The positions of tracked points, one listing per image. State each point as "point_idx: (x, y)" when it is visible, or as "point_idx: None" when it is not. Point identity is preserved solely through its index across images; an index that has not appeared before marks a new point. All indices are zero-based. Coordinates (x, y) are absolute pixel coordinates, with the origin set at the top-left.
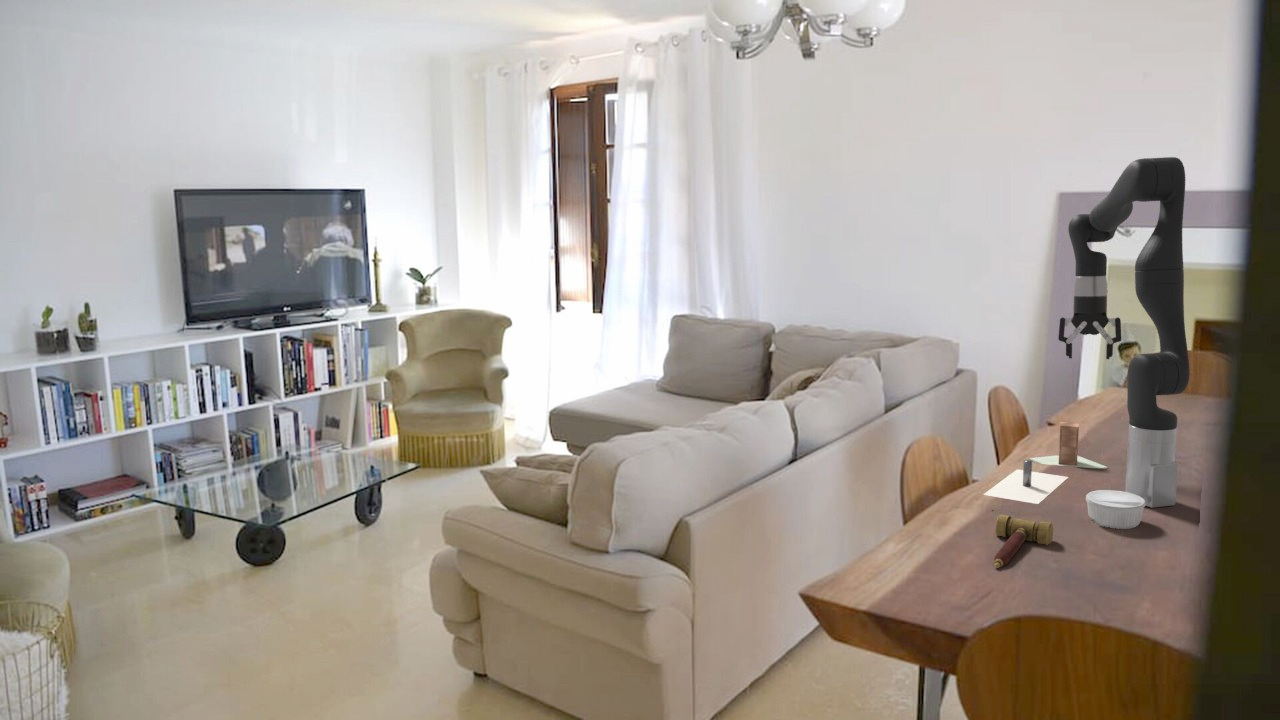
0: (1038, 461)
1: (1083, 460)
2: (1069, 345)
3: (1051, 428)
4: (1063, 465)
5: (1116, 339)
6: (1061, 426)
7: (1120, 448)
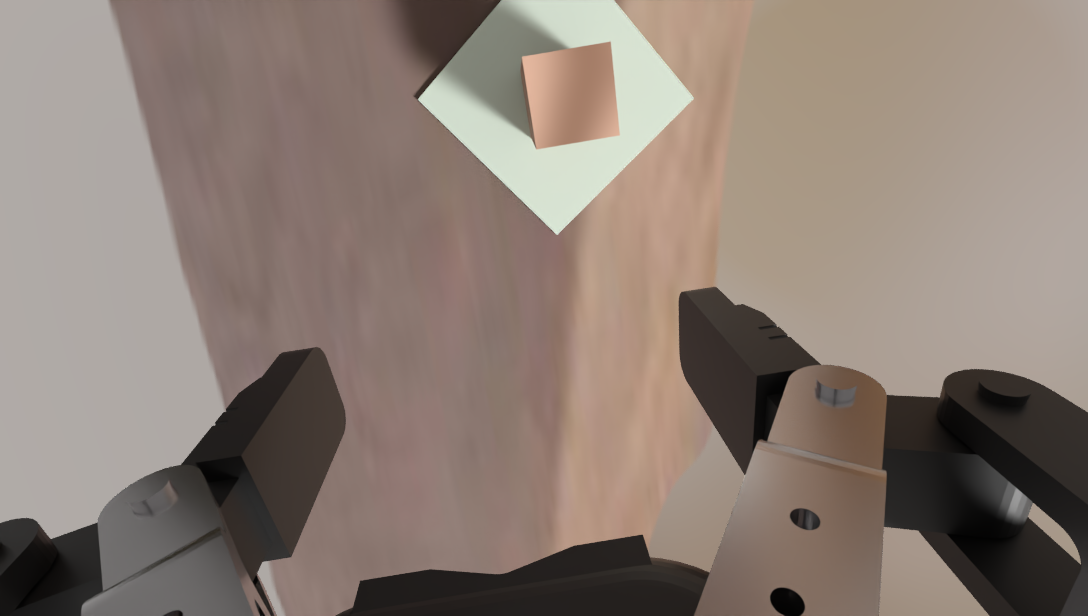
0: (657, 63)
1: (510, 157)
2: (782, 360)
3: (656, 517)
4: (565, 45)
5: (18, 549)
6: (604, 43)
7: (434, 384)
